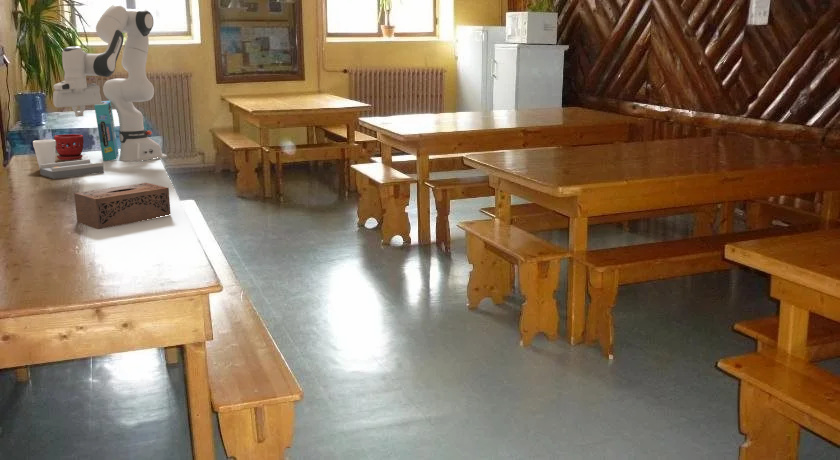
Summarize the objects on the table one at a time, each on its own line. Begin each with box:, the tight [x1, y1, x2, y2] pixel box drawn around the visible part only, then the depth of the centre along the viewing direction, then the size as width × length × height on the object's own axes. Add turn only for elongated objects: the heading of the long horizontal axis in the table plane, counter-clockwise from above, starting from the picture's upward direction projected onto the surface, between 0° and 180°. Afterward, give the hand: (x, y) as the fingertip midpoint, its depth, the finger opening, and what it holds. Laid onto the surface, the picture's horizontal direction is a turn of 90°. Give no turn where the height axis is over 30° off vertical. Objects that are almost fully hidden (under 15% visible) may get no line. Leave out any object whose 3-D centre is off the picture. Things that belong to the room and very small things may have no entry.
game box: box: [93, 100, 120, 162], centre depth 399 cm, size 20×6×27 cm, turn 17°
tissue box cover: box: [73, 182, 172, 230], centre depth 270 cm, size 26×14×10 cm, turn 138°
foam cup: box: [32, 139, 57, 169], centre depth 367 cm, size 10×9×13 cm
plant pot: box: [53, 133, 84, 162], centre depth 396 cm, size 13×13×12 cm
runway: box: [39, 158, 105, 180], centre depth 356 cm, size 22×14×4 cm, turn 135°
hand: (79, 116), depth 357 cm, fingers closed
